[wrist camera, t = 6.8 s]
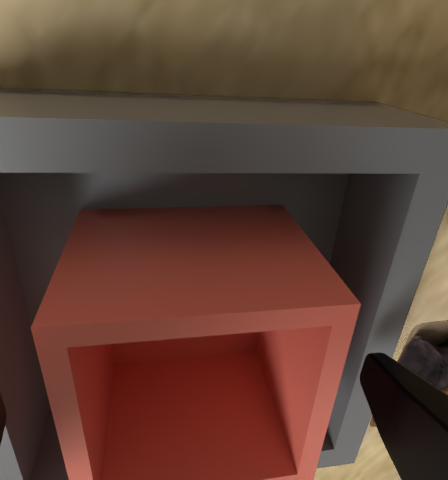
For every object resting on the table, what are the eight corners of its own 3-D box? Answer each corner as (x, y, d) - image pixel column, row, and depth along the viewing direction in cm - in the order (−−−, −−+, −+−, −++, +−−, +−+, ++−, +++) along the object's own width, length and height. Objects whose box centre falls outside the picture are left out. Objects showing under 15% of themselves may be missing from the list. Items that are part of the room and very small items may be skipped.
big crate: (313, 377, 17) (354, 462, 14) (33, 405, 15) (-2, 514, 12) (377, 102, 12) (474, 129, 8) (-51, 85, 10) (-167, 112, 6)
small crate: (263, 349, 14) (312, 482, 10) (102, 363, 13) (78, 519, 9) (282, 204, 12) (361, 303, 7) (80, 209, 11) (30, 327, 6)
